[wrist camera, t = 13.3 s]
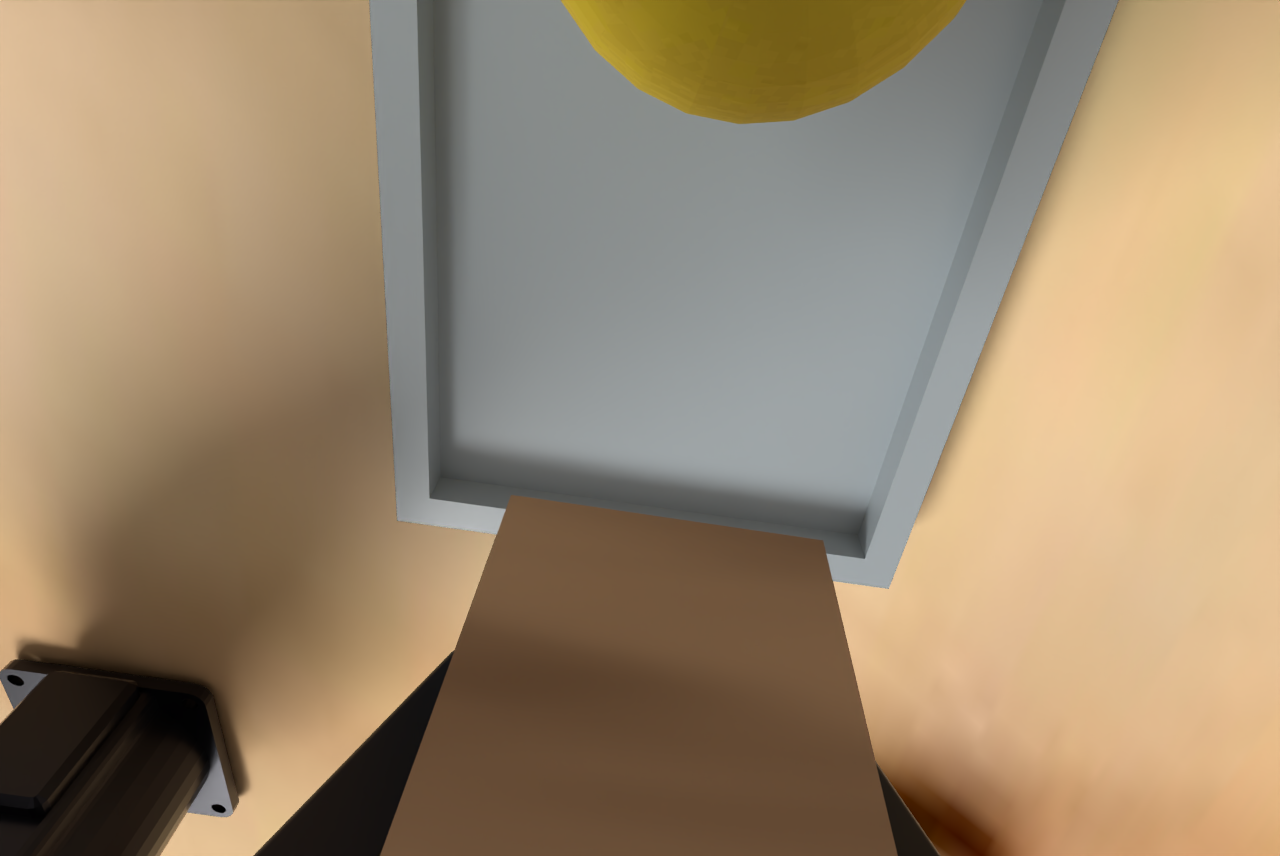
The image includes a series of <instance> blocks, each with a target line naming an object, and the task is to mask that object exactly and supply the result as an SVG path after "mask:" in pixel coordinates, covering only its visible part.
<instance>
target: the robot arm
mask: <svg viewBox="0 0 1280 856" xmlns="http://www.w3.org/2000/svg"><path fill="white" fill-rule="evenodd" d="M454 651H455V650H454ZM454 651H453V652H451V653H450V654H449V655H448V656H447V657H446V658H445V659H444V661H443V662H442V663H441V664H440V665H439V666H438V667H437V668H436V669H435V670H434V671H433V672H432V673H431V674H430V675H429V676H428V677H427V678H426V679H425V680H424V681H423V682H422V683H421V684H420V685H419V686H418V687H417V688H416V689H415V690H414V691H413V692H412V693H411V694H410V695H409V696H408V698H407V699H406V700H405V701H404V702H403V703H402V704H401V705H400V706H399V707H398V708H397V709H396V710H395V711H394V712H393V713H392V714H391V715H390V716H389V717H388V718H387V719H386V720H385V721H384V722H383V723H382V724H381V725H380V726H379V727H378V728H377V729H376V730H375V731H374V732H373V733H372V734H371V736H370V737H369V738H368V739H367V740H366V741H365V742H364V743H363V744H362V745H361V746H360V747H359V748H358V749H357V750H356V751H355V752H354V753H353V754H352V755H351V756H350V757H349V758H348V759H347V760H346V761H345V762H344V763H343V764H342V765H341V766H340V767H339V768H338V769H337V770H336V771H335V773H334V774H333V775H332V776H331V777H330V778H329V779H328V780H327V781H326V782H325V783H324V784H323V785H322V786H321V787H320V788H319V789H318V790H317V791H316V792H315V793H314V794H313V795H312V796H311V797H310V798H309V799H308V800H307V801H306V802H305V803H304V804H303V805H302V806H301V807H300V808H299V810H298V811H297V812H296V813H295V814H294V815H293V816H292V817H291V818H290V819H289V820H288V821H287V822H286V823H285V824H284V825H283V826H282V827H281V828H280V829H279V830H278V831H277V832H276V833H275V834H274V835H273V836H272V837H271V838H270V839H269V840H268V841H267V842H266V843H265V844H264V845H263V846H262V848H261V849H260V850H259V851H258V852H257V853H256V854H255V855H254V856H380V855H381V852H382V849H383V846H384V844H385V841H386V838H387V835H388V833H389V830H390V827H391V824H392V822H393V819H394V816H395V813H396V811H397V808H398V805H399V802H400V800H401V797H402V794H403V791H404V789H405V786H406V783H407V780H408V777H409V775H410V772H411V769H412V766H413V764H414V761H415V758H416V755H417V753H418V750H419V747H420V744H421V742H422V739H423V736H424V733H425V731H426V728H427V725H428V722H429V720H430V717H431V714H432V711H433V709H434V706H435V703H436V700H437V698H438V695H439V692H440V689H441V687H442V684H443V681H444V678H445V676H446V673H447V670H448V667H449V665H450V662H451V659H452V656H453V654H454ZM0 680H1V682H2V684H3V687H4V689H5V691H6V693H7V695H8V698H9V700H10V702H11V704H12V706H13V709H14V710H13V711H12V712H11V713H10V714H9V715H8V716H7V717H6V718H5V719H4V720H3V721H2V722H1V723H0V856H160V855H161V853H162V852H163V850H164V848H165V847H166V845H167V844H168V842H169V840H170V839H171V837H172V836H173V834H174V832H175V831H176V829H177V827H178V826H179V824H180V823H181V821H182V819H183V818H184V816H185V815H186V813H187V812H188V813H195V814H203V815H210V816H217V817H228V816H231V815H232V814H233V812H234V810H235V809H236V807H237V805H238V803H239V798H238V794H237V790H236V786H235V782H234V778H233V774H232V770H231V766H230V762H229V758H228V754H227V750H226V746H225V742H224V738H223V734H222V730H221V726H220V722H219V718H218V714H217V710H216V706H215V702H214V698H213V695H212V693H211V692H210V691H209V690H208V689H207V688H206V687H204V686H202V685H199V684H195V683H189V682H181V681H174V680H167V679H160V678H152V677H145V676H138V675H130V674H123V673H116V672H108V671H101V670H94V669H87V668H79V667H72V666H65V665H57V664H50V663H43V662H35V661H28V660H21V659H20V660H13V661H11V662H10V663H9V664H8V665H7V666H6V667H5V668H4V669H2V670H1V672H0ZM875 762H876V761H875ZM876 766H877V770H878V774H879V779H880V783H881V787H882V791H883V796H884V800H885V804H886V808H887V813H888V817H889V821H890V825H891V829H892V834H893V838H894V842H895V846H896V851H897V855H898V856H940V854H939V853H938V851H937V850H936V848H935V847H934V845H933V844H932V843H931V841H930V840H929V838H928V837H927V835H926V834H925V832H924V831H923V829H922V828H921V826H920V825H919V824H918V822H917V821H916V819H915V818H914V816H913V815H912V813H911V812H910V810H909V809H908V808H907V806H906V805H905V803H904V802H903V800H902V799H901V797H900V796H899V794H898V793H897V791H896V790H895V789H894V787H893V786H892V784H891V783H890V781H889V780H888V778H887V777H886V775H885V774H884V773H883V771H882V770H881V768H880V767H879V765H878V764H877V762H876Z"/></svg>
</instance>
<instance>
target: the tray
mask: <svg viewBox="0 0 1280 856" xmlns="http://www.w3.org/2000/svg"><path fill="white" fill-rule="evenodd" d="M1118 1H1119V0H966V2H965V3H964V5H963V6H962V8H961V9H960V11H959V12H958V14H957V15H956V17H955V18H954V19H953V20H952V21H951V22H950V23H949V24H948V25H947V26H946V27H945V28H944V29H943V30H942V31H941V32H940V33H939V34H938V35H937V36H936V37H935V38H934V39H933V40H932V41H931V42H930V43H928V44H927V45H926V46H925V47H924V48H923V49H922V50H921V51H920V52H919V53H918V54H917V55H916V56H915V57H914V58H913V59H912V60H911V61H910V62H909V63H908V64H907V65H906V66H905V67H904V68H903V69H901V70H900V71H898V72H896V73H895V74H893V75H892V76H890V77H888V78H887V79H885V80H884V81H882V82H880V83H879V84H877V85H876V86H874V87H873V88H871V89H869V90H868V91H866V92H865V93H863V94H861V95H860V96H858V97H857V98H855V99H854V100H852V101H850V102H848V103H845V104H842V105H839V106H836V107H833V108H830V109H827V110H824V111H821V112H818V113H815V114H812V115H809V116H806V117H803V118H800V119H797V120H794V121H781V122H765V123H750V124H736V123H731V122H726V121H721V120H716V119H711V118H706V117H701V116H696V115H691V114H686V113H684V112H682V111H680V110H678V109H677V108H675V107H673V106H671V105H669V104H667V103H665V102H663V101H661V100H659V99H657V98H655V97H653V96H651V95H649V94H647V93H645V92H643V91H641V90H639V89H637V88H636V87H635V86H634V85H633V84H632V83H631V82H630V81H629V80H627V79H626V78H625V77H624V76H623V75H622V74H621V73H620V72H619V71H617V70H616V69H615V68H614V67H613V66H612V65H611V64H610V63H609V62H607V61H606V60H605V59H604V58H603V57H602V56H601V55H600V54H599V53H597V52H596V51H595V50H594V48H593V47H592V45H591V44H590V42H589V41H588V39H587V38H586V36H585V35H584V34H583V32H582V31H581V29H580V28H579V26H578V25H577V23H576V22H575V20H574V19H573V18H572V16H571V15H570V13H569V12H568V10H567V9H566V7H565V6H564V4H563V3H562V2H561V0H369V3H370V22H371V41H372V59H373V78H374V97H375V116H376V134H377V153H378V172H379V190H380V209H381V228H382V247H383V265H384V284H385V303H386V321H387V340H388V359H389V378H390V396H391V415H392V434H393V452H394V471H395V490H396V509H397V521H403V522H410V523H418V524H425V525H432V526H439V527H447V528H454V529H461V530H468V531H475V532H483V533H490V534H497V532H498V530H499V527H500V524H501V521H502V519H503V516H504V513H505V510H506V507H507V505H508V502H509V499H510V496H511V495H516V496H523V497H530V498H537V499H544V500H550V501H557V502H564V503H571V504H578V505H585V506H592V507H598V508H605V509H612V510H619V511H626V512H633V513H639V514H646V515H653V516H660V517H667V518H674V519H680V520H687V521H694V522H701V523H708V524H715V525H722V526H728V527H735V528H742V529H749V530H756V531H763V532H769V533H776V534H783V535H790V536H797V537H804V538H810V539H817V540H823V542H824V546H825V550H826V555H827V559H828V563H829V567H830V571H831V576H832V580H833V581H836V582H843V583H851V584H858V585H865V586H872V587H880V588H887V589H889V586H890V584H891V581H892V579H893V576H894V574H895V571H896V568H897V566H898V563H899V561H900V558H901V556H902V553H903V551H904V548H905V545H906V543H907V540H908V538H909V535H910V533H911V530H912V528H913V525H914V522H915V520H916V517H917V515H918V512H919V510H920V507H921V505H922V502H923V499H924V497H925V494H926V492H927V489H928V487H929V484H930V482H931V479H932V476H933V474H934V471H935V469H936V466H937V464H938V461H939V458H940V456H941V453H942V451H943V448H944V446H945V443H946V441H947V438H948V435H949V433H950V430H951V428H952V425H953V423H954V420H955V418H956V415H957V412H958V410H959V407H960V405H961V402H962V400H963V397H964V395H965V392H966V389H967V387H968V384H969V382H970V379H971V377H972V374H973V372H974V369H975V366H976V364H977V361H978V359H979V356H980V354H981V351H982V348H983V346H984V343H985V341H986V338H987V336H988V333H989V331H990V328H991V325H992V323H993V320H994V318H995V315H996V313H997V310H998V308H999V305H1000V302H1001V300H1002V297H1003V295H1004V292H1005V290H1006V287H1007V285H1008V282H1009V279H1010V277H1011V274H1012V272H1013V269H1014V267H1015V264H1016V262H1017V259H1018V256H1019V254H1020V251H1021V249H1022V246H1023V244H1024V241H1025V239H1026V236H1027V233H1028V231H1029V228H1030V226H1031V223H1032V221H1033V218H1034V215H1035V213H1036V210H1037V208H1038V205H1039V203H1040V200H1041V198H1042V195H1043V192H1044V190H1045V187H1046V185H1047V182H1048V180H1049V177H1050V175H1051V172H1052V169H1053V167H1054V164H1055V162H1056V159H1057V157H1058V154H1059V152H1060V149H1061V146H1062V144H1063V141H1064V139H1065V136H1066V134H1067V131H1068V129H1069V126H1070V123H1071V121H1072V118H1073V116H1074V113H1075V111H1076V108H1077V105H1078V103H1079V100H1080V98H1081V95H1082V93H1083V90H1084V88H1085V85H1086V82H1087V80H1088V77H1089V75H1090V72H1091V70H1092V67H1093V65H1094V62H1095V59H1096V57H1097V54H1098V52H1099V49H1100V47H1101V44H1102V42H1103V39H1104V36H1105V34H1106V31H1107V29H1108V26H1109V24H1110V21H1111V19H1112V16H1113V13H1114V11H1115V8H1116V6H1117V3H1118Z"/></svg>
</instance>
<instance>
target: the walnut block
mask: <svg viewBox="0 0 1280 856" xmlns="http://www.w3.org/2000/svg"><path fill="white" fill-rule="evenodd" d="M380 856H898V855H897V851H896V846H895V842H894V838H893V834H892V829H891V825H890V821H889V817H888V813H887V808H886V804H885V800H884V796H883V791H882V787H881V783H880V779H879V774H878V770H877V766H876V762H875V758H874V753H873V749H872V745H871V741H870V736H869V732H868V728H867V724H866V719H865V715H864V711H863V707H862V703H861V698H860V694H859V690H858V686H857V681H856V677H855V673H854V669H853V665H852V660H851V656H850V652H849V648H848V643H847V639H846V635H845V631H844V626H843V622H842V618H841V614H840V610H839V605H838V601H837V597H836V593H835V588H834V584H833V580H832V576H831V571H830V567H829V563H828V559H827V555H826V550H825V546H824V542H823V540H817V539H810V538H804V537H797V536H790V535H783V534H776V533H769V532H763V531H756V530H749V529H742V528H735V527H728V526H722V525H715V524H708V523H701V522H694V521H687V520H680V519H674V518H667V517H660V516H653V515H646V514H639V513H633V512H626V511H619V510H612V509H605V508H598V507H592V506H585V505H578V504H571V503H564V502H557V501H550V500H544V499H537V498H530V497H523V496H516V495H511V496H510V499H509V502H508V505H507V507H506V510H505V513H504V516H503V519H502V521H501V524H500V527H499V530H498V532H497V535H496V538H495V541H494V543H493V546H492V549H491V552H490V554H489V557H488V560H487V563H486V565H485V568H484V571H483V574H482V576H481V579H480V582H479V585H478V587H477V590H476V593H475V596H474V598H473V601H472V604H471V607H470V609H469V612H468V615H467V618H466V620H465V623H464V626H463V629H462V631H461V634H460V637H459V640H458V642H457V645H456V648H455V651H454V654H453V656H452V659H451V662H450V665H449V667H448V670H447V673H446V676H445V678H444V681H443V684H442V687H441V689H440V692H439V695H438V698H437V700H436V703H435V706H434V709H433V711H432V714H431V717H430V720H429V722H428V725H427V728H426V731H425V733H424V736H423V739H422V742H421V744H420V747H419V750H418V753H417V755H416V758H415V761H414V764H413V766H412V769H411V772H410V775H409V777H408V780H407V783H406V786H405V789H404V791H403V794H402V797H401V800H400V802H399V805H398V808H397V811H396V813H395V816H394V819H393V822H392V824H391V827H390V830H389V833H388V835H387V838H386V841H385V844H384V846H383V849H382V852H381V855H380Z"/></svg>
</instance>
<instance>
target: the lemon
mask: <svg viewBox="0 0 1280 856" xmlns="http://www.w3.org/2000/svg"><path fill="white" fill-rule="evenodd" d="M561 2H562V3H563V4H564V6H565V7H566V9H567V10H568V12H569V13H570V15H571V16H572V18H573V19H574V20H575V22H576V23H577V25H578V26H579V28H580V29H581V31H582V32H583V34H584V35H585V36H586V38H587V39H588V41H589V42H590V44H591V45H592V47H593V48H594V50H595V51H596V52H597V53H599V54H600V55H601V56H602V57H603V58H604V59H605V60H606V61H607V62H609V63H610V64H611V65H612V66H613V67H614V68H615V69H616V70H617V71H619V72H620V73H621V74H622V75H623V76H624V77H625V78H626V79H627V80H629V81H630V82H631V83H632V84H633V85H634V86H635V87H636V88H637V89H639V90H641V91H643V92H645V93H647V94H649V95H651V96H653V97H655V98H657V99H659V100H661V101H663V102H665V103H667V104H669V105H671V106H673V107H675V108H677V109H678V110H680V111H682V112H684V113H686V114H691V115H696V116H701V117H706V118H711V119H716V120H721V121H726V122H731V123H736V124H750V123H765V122H781V121H794V120H797V119H800V118H803V117H806V116H809V115H812V114H815V113H818V112H821V111H824V110H827V109H830V108H833V107H836V106H839V105H842V104H845V103H848V102H850V101H852V100H854V99H855V98H857V97H858V96H860V95H861V94H863V93H865V92H866V91H868V90H869V89H871V88H873V87H874V86H876V85H877V84H879V83H880V82H882V81H884V80H885V79H887V78H888V77H890V76H892V75H893V74H895V73H896V72H898V71H900V70H901V69H903V68H904V67H905V66H906V65H907V64H908V63H909V62H910V61H911V60H912V59H913V58H914V57H915V56H916V55H917V54H918V53H919V52H920V51H921V50H922V49H923V48H924V47H925V46H926V45H927V44H928V43H930V42H931V41H932V40H933V39H934V38H935V37H936V36H937V35H938V34H939V33H940V32H941V31H942V30H943V29H944V28H945V27H946V26H947V25H948V24H949V23H950V22H951V21H952V20H953V19H954V18H955V17H956V15H957V14H958V12H959V11H960V9H961V8H962V6H963V5H964V3H965V2H966V0H561Z"/></svg>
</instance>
